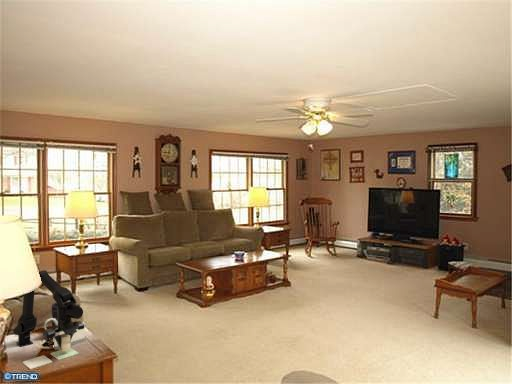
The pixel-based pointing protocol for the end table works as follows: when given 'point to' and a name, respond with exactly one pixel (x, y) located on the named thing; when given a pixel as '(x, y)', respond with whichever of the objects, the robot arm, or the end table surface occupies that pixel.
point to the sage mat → (64, 354)
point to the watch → (53, 321)
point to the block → (64, 342)
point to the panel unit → (73, 337)
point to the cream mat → (37, 362)
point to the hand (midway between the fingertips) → (64, 346)
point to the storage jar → (54, 315)
